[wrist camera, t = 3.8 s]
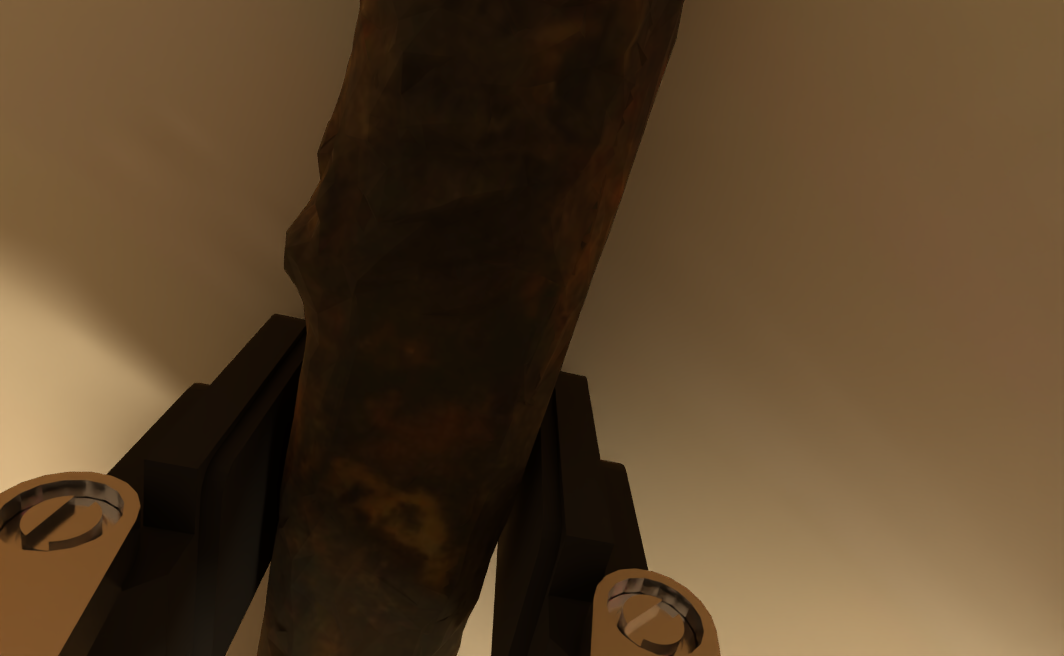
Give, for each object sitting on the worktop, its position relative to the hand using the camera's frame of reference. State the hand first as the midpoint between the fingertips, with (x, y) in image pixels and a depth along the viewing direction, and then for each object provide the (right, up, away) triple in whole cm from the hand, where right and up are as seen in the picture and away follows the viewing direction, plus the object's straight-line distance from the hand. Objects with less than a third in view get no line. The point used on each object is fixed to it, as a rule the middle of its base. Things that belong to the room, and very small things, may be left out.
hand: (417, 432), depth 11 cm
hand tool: (+1, 0, +1) cm, 1 cm away
